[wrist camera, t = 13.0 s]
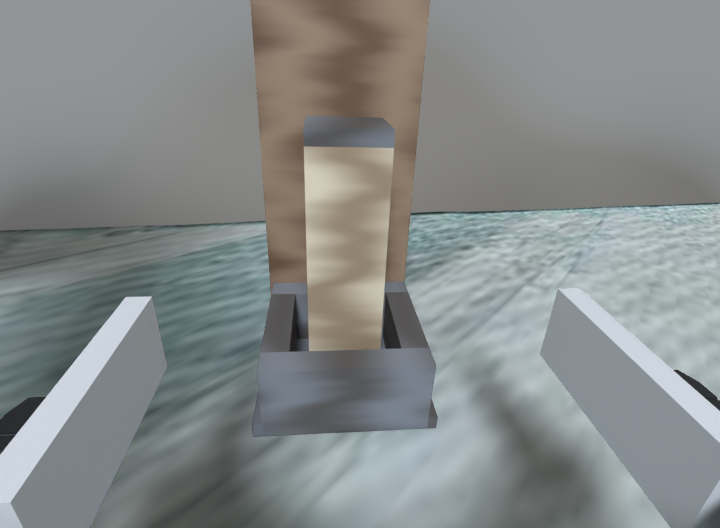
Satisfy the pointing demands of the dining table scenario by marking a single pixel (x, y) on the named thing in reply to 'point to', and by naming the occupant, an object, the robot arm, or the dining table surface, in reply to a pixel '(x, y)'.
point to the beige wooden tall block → (346, 228)
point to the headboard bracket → (288, 219)
